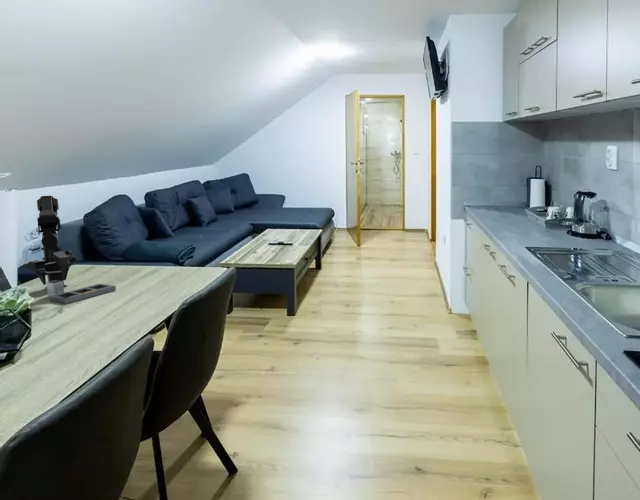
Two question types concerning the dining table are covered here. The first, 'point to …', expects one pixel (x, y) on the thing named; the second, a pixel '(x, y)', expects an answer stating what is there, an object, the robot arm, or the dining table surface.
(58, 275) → the robot arm
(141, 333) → the dining table surface
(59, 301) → the grey slotted frame
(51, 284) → the steel block
